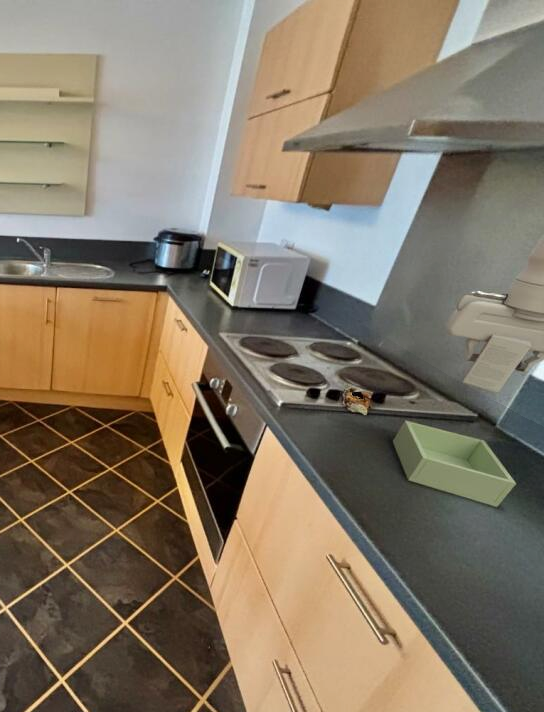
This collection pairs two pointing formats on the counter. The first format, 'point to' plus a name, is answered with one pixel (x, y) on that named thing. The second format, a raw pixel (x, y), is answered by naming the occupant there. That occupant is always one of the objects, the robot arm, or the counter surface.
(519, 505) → the counter surface
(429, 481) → the sorting bin
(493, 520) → the counter surface
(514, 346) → the small box
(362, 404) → the pastry
